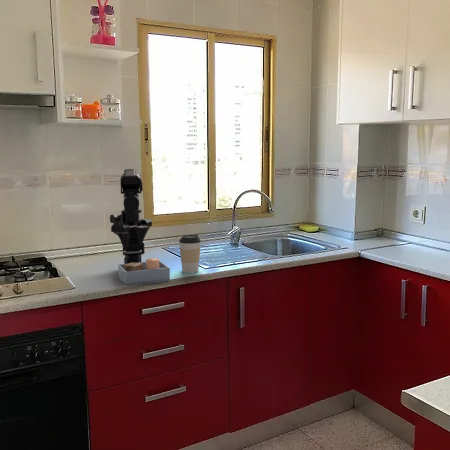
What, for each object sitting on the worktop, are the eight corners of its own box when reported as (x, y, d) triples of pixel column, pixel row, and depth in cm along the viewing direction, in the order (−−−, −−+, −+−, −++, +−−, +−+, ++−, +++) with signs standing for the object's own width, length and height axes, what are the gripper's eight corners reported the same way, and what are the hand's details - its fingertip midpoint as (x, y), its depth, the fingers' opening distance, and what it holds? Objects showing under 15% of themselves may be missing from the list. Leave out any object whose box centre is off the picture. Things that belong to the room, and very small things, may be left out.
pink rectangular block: (153, 274, 202) (151, 257, 201) (163, 275, 199) (161, 258, 198) (144, 277, 198) (143, 260, 197) (154, 279, 195) (152, 261, 194)
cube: (142, 275, 200) (142, 263, 200) (135, 278, 196) (134, 266, 195) (132, 274, 203) (132, 262, 202) (124, 277, 198) (124, 265, 197)
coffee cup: (183, 274, 205) (182, 238, 203) (176, 269, 213) (175, 234, 211) (204, 272, 209) (204, 236, 206) (196, 267, 217) (196, 232, 214)
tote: (160, 272, 208) (159, 260, 208) (169, 280, 197) (169, 267, 196) (118, 276, 202) (118, 264, 201) (126, 285, 190) (125, 272, 189)
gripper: (129, 203, 207) (131, 241, 209) (98, 209, 190) (100, 249, 193) (152, 205, 202) (153, 243, 204) (122, 210, 185) (123, 252, 188)
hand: (132, 247), depth 197 cm, fingers open, 9 cm apart
